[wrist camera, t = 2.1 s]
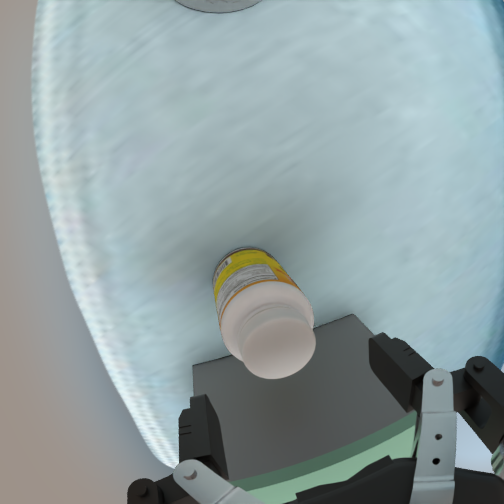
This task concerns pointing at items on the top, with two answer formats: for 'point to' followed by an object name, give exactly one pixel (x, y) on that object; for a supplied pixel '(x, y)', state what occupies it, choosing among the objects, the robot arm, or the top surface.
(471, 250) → the top surface
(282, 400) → the box
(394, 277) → the top surface
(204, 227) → the top surface
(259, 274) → the supplement bottle
